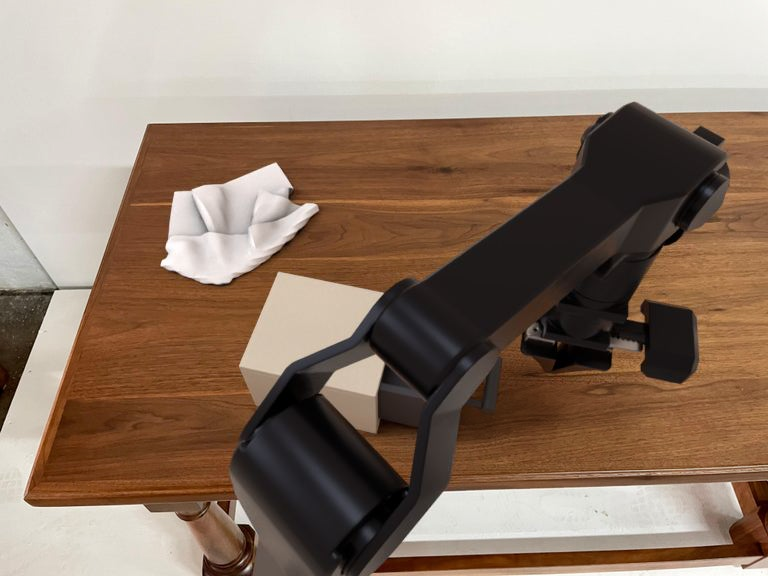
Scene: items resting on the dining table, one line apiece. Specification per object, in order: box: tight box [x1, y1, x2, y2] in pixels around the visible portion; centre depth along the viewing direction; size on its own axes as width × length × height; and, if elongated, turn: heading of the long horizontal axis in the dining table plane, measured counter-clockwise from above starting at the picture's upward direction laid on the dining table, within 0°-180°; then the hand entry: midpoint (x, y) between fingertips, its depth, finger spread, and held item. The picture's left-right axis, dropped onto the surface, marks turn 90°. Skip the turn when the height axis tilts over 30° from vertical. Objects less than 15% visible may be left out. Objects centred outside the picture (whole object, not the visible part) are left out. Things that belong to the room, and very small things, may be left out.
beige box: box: [238, 271, 385, 435], centre depth 64 cm, size 14×12×10 cm
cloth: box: [160, 162, 320, 286], centre depth 80 cm, size 20×22×2 cm
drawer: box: [378, 355, 503, 428], centre depth 63 cm, size 17×10×8 cm, turn 76°
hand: (548, 368), depth 56 cm, fingers closed
